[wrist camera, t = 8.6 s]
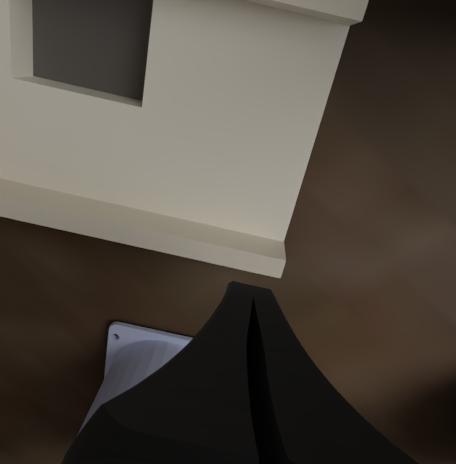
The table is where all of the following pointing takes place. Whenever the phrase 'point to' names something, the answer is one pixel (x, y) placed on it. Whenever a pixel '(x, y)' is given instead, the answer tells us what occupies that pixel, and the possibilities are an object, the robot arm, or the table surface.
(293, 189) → the trap lane
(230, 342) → the robot arm
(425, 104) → the table surface
